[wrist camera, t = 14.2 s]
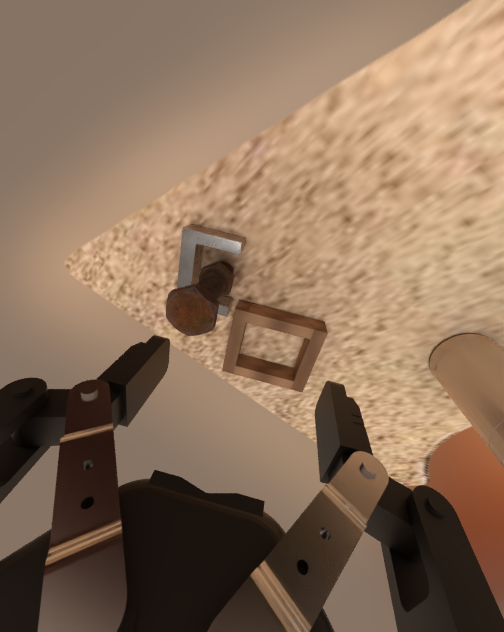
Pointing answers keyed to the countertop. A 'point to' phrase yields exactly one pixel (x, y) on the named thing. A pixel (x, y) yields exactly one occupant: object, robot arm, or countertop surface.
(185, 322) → the bolt
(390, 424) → the countertop surface
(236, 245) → the block
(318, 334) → the square frame block
